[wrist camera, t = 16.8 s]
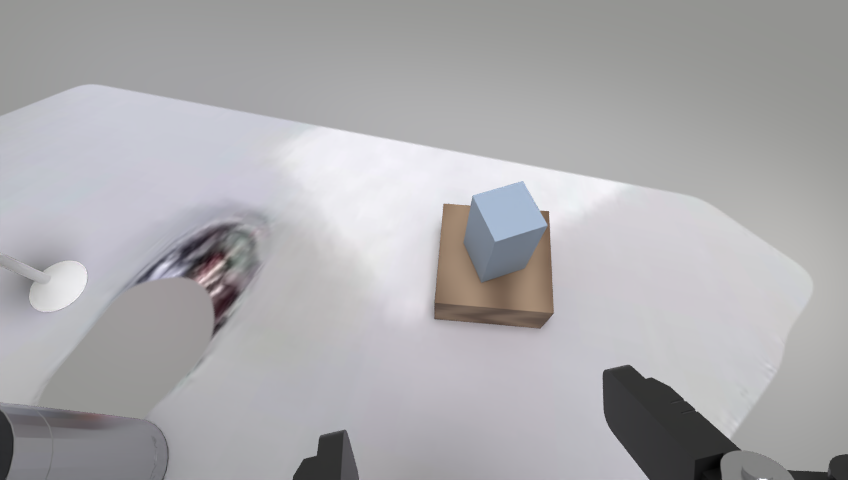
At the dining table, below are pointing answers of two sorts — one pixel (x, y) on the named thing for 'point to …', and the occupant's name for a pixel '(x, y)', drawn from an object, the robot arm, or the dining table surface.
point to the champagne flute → (51, 282)
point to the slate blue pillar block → (503, 230)
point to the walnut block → (490, 281)
